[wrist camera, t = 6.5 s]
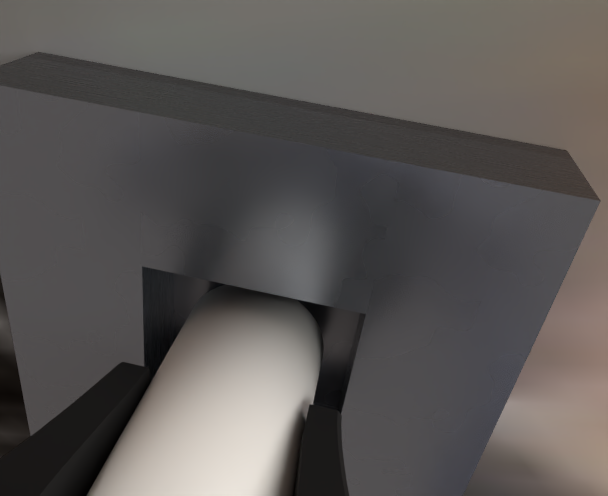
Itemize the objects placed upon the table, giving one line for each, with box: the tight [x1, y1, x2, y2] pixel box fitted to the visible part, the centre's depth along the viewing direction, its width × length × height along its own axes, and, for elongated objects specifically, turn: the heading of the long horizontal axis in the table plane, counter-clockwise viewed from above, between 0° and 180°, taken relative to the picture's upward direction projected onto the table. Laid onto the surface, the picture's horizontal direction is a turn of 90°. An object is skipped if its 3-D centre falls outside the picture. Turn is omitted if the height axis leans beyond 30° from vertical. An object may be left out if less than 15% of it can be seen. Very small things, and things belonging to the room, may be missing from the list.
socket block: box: [0, 52, 600, 496], centre depth 14 cm, size 12×12×2 cm
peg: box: [87, 284, 324, 496], centre depth 11 cm, size 4×4×7 cm
